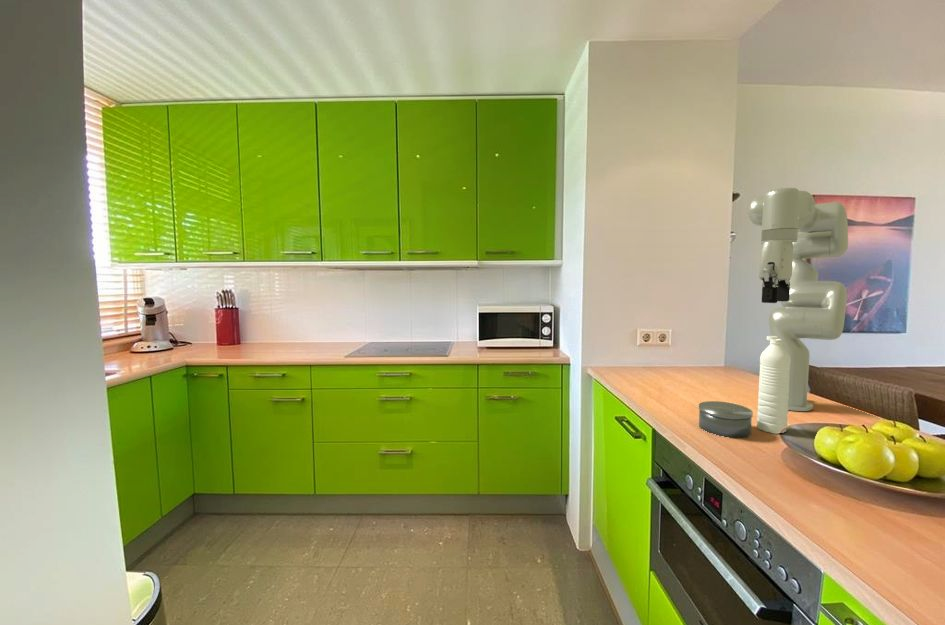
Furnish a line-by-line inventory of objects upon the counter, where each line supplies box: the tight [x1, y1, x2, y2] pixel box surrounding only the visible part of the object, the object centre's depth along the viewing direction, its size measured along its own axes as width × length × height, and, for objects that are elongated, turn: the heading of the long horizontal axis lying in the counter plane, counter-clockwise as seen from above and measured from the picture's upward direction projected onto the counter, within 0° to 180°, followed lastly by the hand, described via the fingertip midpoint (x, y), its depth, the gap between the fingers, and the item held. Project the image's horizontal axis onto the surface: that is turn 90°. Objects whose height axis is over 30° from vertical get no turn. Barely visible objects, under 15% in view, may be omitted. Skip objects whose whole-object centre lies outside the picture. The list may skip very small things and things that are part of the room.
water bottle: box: [756, 335, 791, 434], centre depth 106 cm, size 9×6×25 cm
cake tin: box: [698, 400, 754, 439], centre depth 106 cm, size 12×12×6 cm
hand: (775, 302), depth 104 cm, fingers open, 9 cm apart
